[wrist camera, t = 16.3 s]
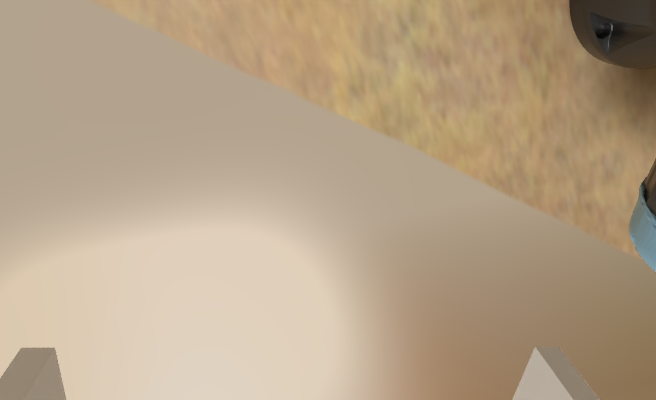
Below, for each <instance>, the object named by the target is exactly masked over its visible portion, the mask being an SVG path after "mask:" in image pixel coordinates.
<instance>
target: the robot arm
mask: <svg viewBox="0 0 656 400" xmlns="http://www.w3.org/2000/svg"><path fill="white" fill-rule="evenodd" d="M570 15H571V20H572V25H573V28H574V31H575V33H576V35H577V38H578V39H579V41H580V43H581V44H582V45H583V47H584V48H585V49H586V50H587V51H588V52H589V53H590V54H591V55H593V56H594V57H596V58H597V59H599V60H601V61H604V62H606V63H610V64H614V65H618V66H622V67H627V68H652V67H656V0H570ZM629 233H630V237H631V239H632V241H633V243H634V244H635V248H636V250H637V252H638V253H639V255H640V256H641V257H642V258H643V260H644V261H645V262H646V263H647V264H648V265H649V266H650V267H651V268H652V269H653V270H654V271H655V272H656V159H655V161H654V164H653V166H652V168H651V170H650V172H649V174H648V176H647V177H646V178H645V179H644V181H643V182H642V184H641V186H640V189H639V199H638V201H637V204H636V206H635V209H634V211H633V214H632V216H631V219H630V224H629ZM0 400H66V396H65V392H64V388H63V383H62V378H61V373H60V369H59V364H58V360H57V355H56V351H55V348H21V349H20V351H19V352H18V354H17V355H16V356H15V358H14V359H13V361H12V362H11V364H10V365H9V367H8V368H7V369H6V371H5V372H4V374H3V376H2V377H1V378H0ZM512 400H600V399H599V397H598V396H597V395H596V394H595V392H594V391H593V390H592V389H591V387H590V386H589V385H588V383H587V382H586V381H585V380H584V378H583V377H582V376H581V374H580V373H579V372H578V371H577V369H576V368H575V367H574V366H573V364H572V363H571V362H570V361H569V359H568V358H567V357H566V355H565V354H564V353H563V352H562V350H561V349H560V348H559V347H535V348H534V351H533V353H532V356H531V358H530V360H529V363H528V365H527V367H526V369H525V372H524V374H523V376H522V378H521V381H520V383H519V385H518V388H517V390H516V393H515V395H514V397H513V399H512Z"/></svg>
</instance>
